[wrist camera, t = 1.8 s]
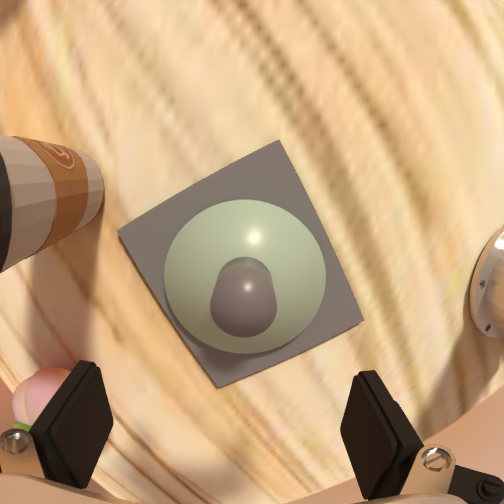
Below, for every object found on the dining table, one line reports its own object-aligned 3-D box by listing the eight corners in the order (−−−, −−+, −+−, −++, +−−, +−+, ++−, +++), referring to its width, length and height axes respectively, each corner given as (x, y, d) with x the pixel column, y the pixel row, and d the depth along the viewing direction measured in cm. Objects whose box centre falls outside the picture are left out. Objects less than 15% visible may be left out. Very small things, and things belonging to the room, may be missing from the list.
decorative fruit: (79, 420, 29) (45, 478, 19) (31, 366, 27) (-16, 418, 18) (130, 397, 28) (97, 469, 18) (76, 334, 26) (21, 395, 16)
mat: (361, 317, 26) (364, 320, 25) (218, 383, 27) (218, 387, 27) (278, 140, 22) (278, 139, 22) (119, 229, 24) (116, 230, 23)
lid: (345, 307, 25) (367, 339, 20) (216, 367, 26) (209, 408, 21) (279, 169, 22) (288, 168, 17) (139, 247, 24) (111, 267, 18)
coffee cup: (136, 169, 23) (1, 174, 8) (91, 257, 24) (-33, 338, 10) (63, 122, 22) (-75, 101, 7) (26, 207, 23) (-104, 243, 9)
